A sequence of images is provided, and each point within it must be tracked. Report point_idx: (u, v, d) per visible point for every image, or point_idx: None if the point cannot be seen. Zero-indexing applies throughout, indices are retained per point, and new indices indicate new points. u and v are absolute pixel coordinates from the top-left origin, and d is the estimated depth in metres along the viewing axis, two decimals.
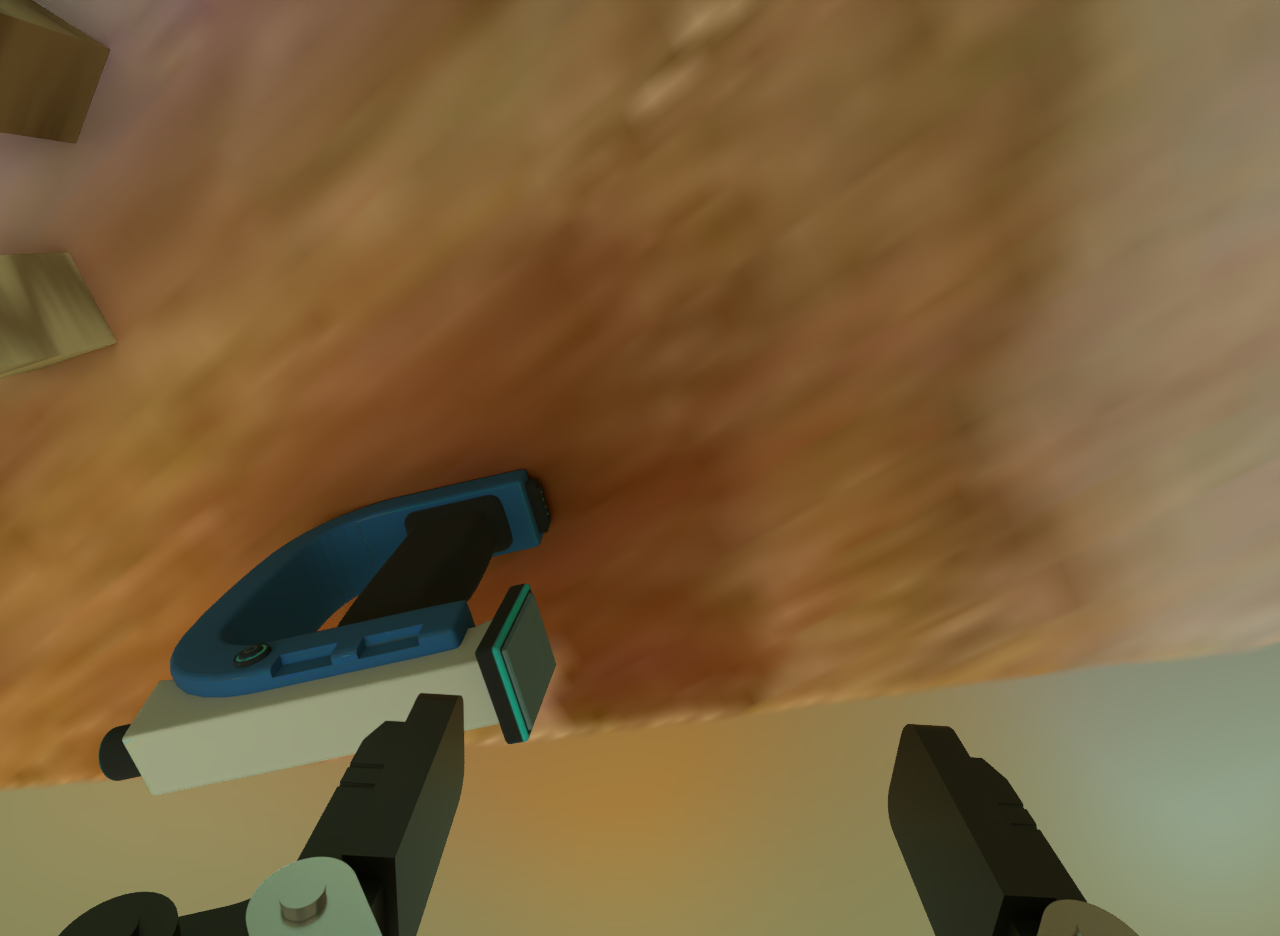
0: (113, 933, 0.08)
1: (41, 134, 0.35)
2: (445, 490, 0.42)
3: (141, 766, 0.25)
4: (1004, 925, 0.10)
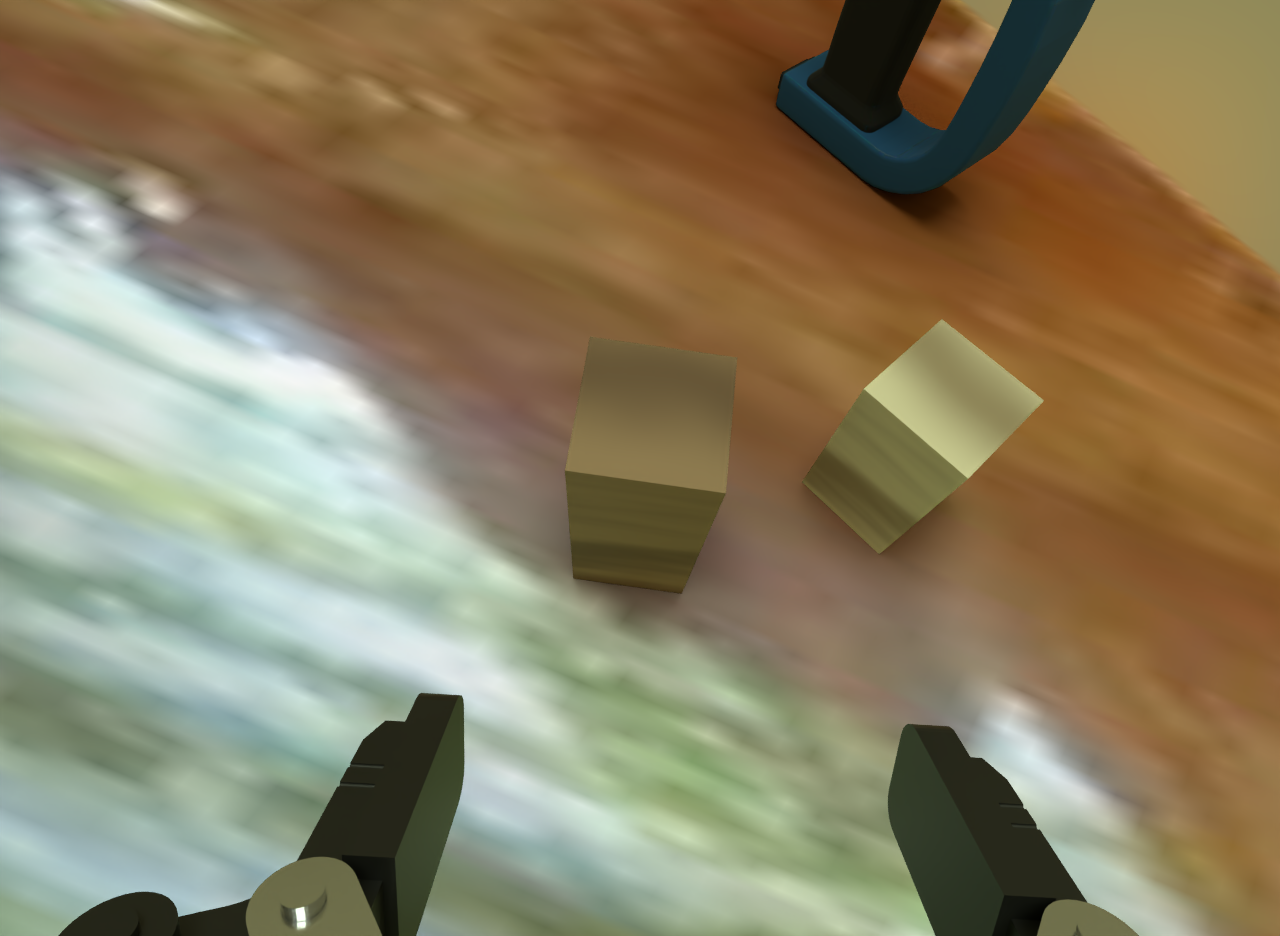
0: (114, 933, 0.08)
1: None
2: (828, 134, 0.45)
3: None
4: (1004, 925, 0.10)
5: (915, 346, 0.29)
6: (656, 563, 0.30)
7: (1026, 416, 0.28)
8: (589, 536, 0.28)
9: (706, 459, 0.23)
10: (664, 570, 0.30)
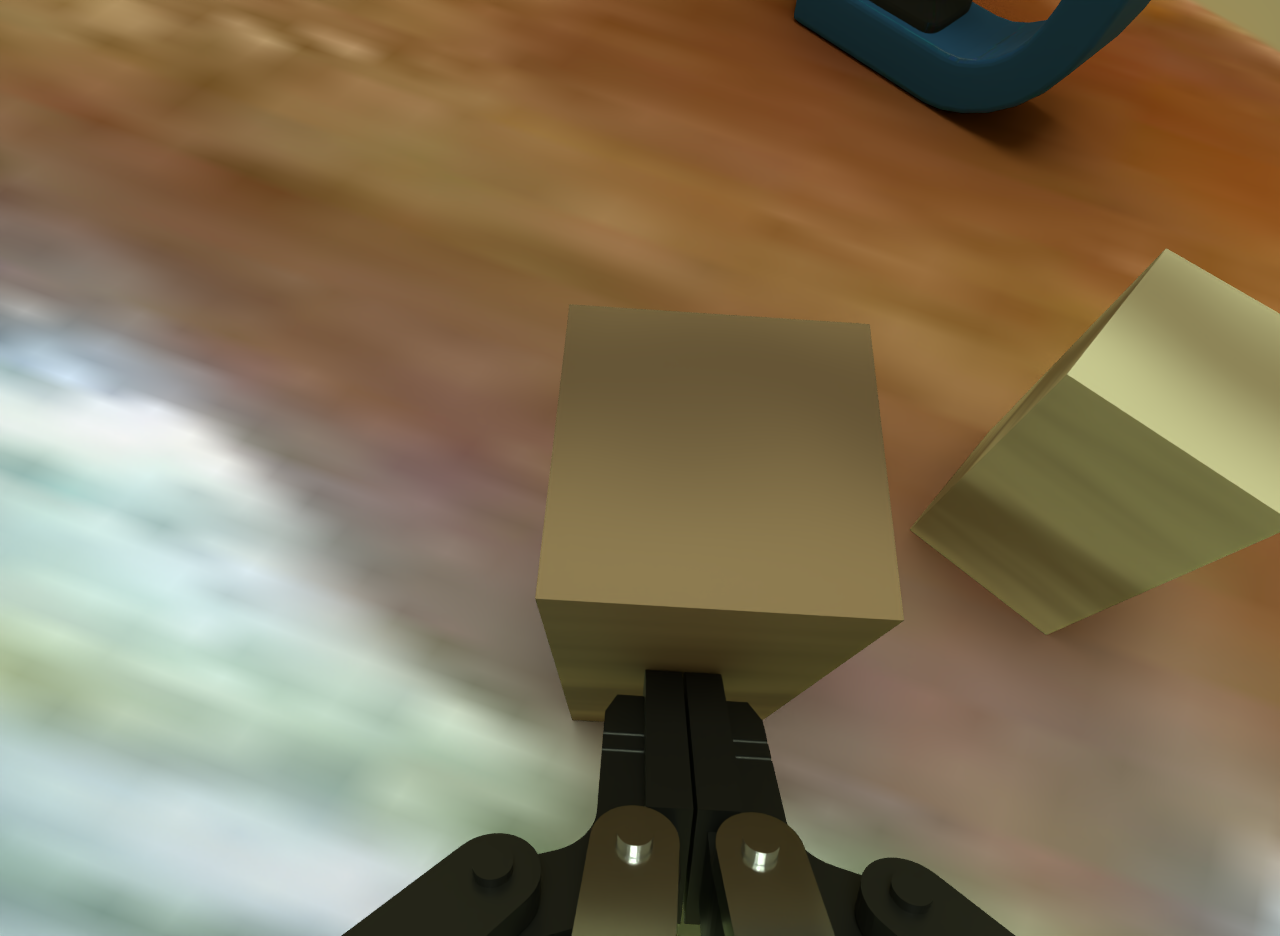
0: (494, 866, 0.09)
1: None
2: (872, 44, 0.33)
3: None
4: (702, 837, 0.11)
5: (1135, 295, 0.17)
6: None
7: None
8: (595, 681, 0.15)
9: (848, 544, 0.10)
10: None
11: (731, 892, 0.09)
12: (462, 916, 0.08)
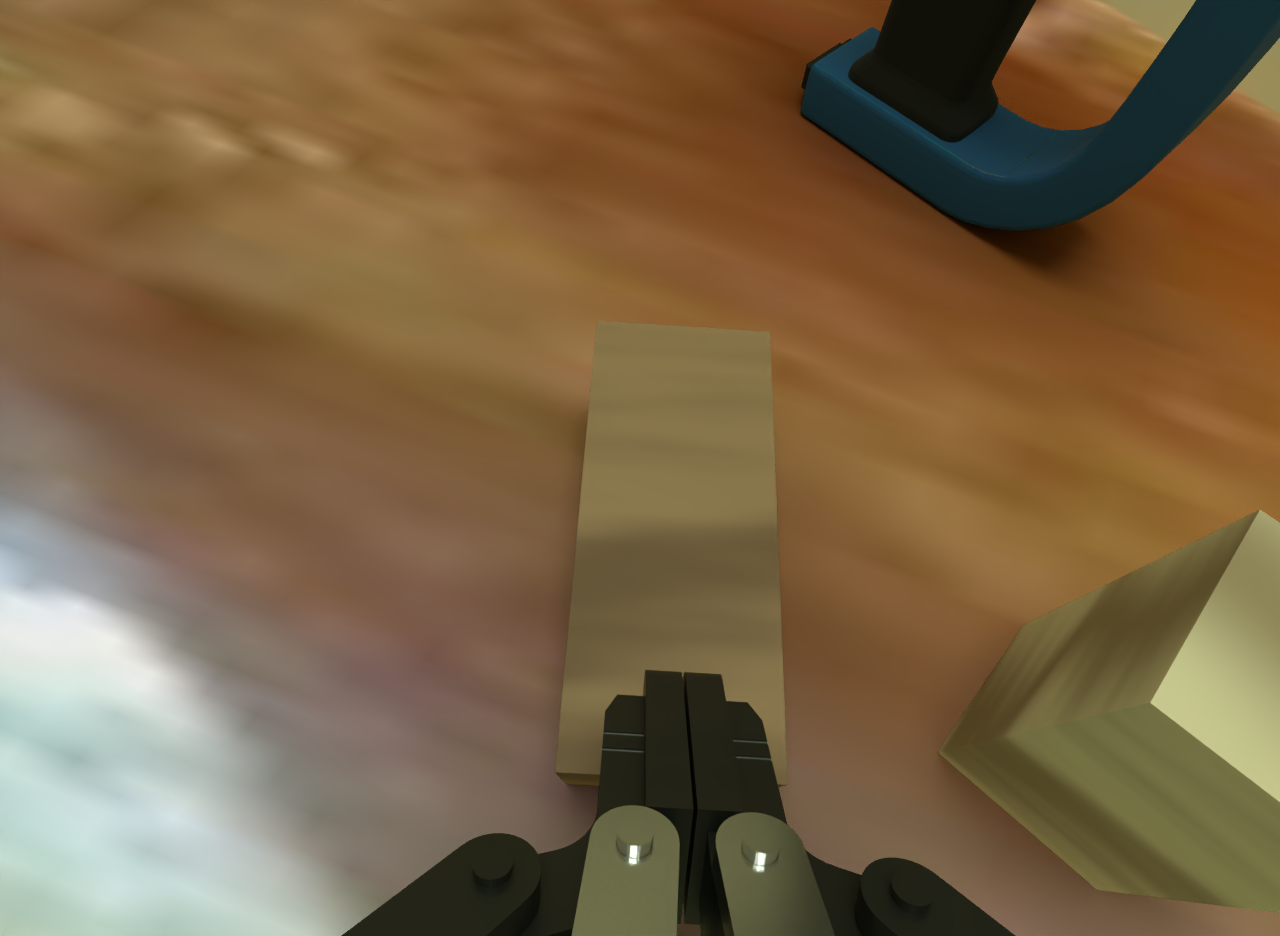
0: (494, 865, 0.09)
1: None
2: (887, 148, 0.30)
3: None
4: (702, 837, 0.11)
5: (1226, 580, 0.14)
6: (717, 602, 0.17)
7: None
8: (609, 508, 0.18)
9: None
10: (734, 632, 0.17)
11: (731, 892, 0.09)
12: (462, 916, 0.08)
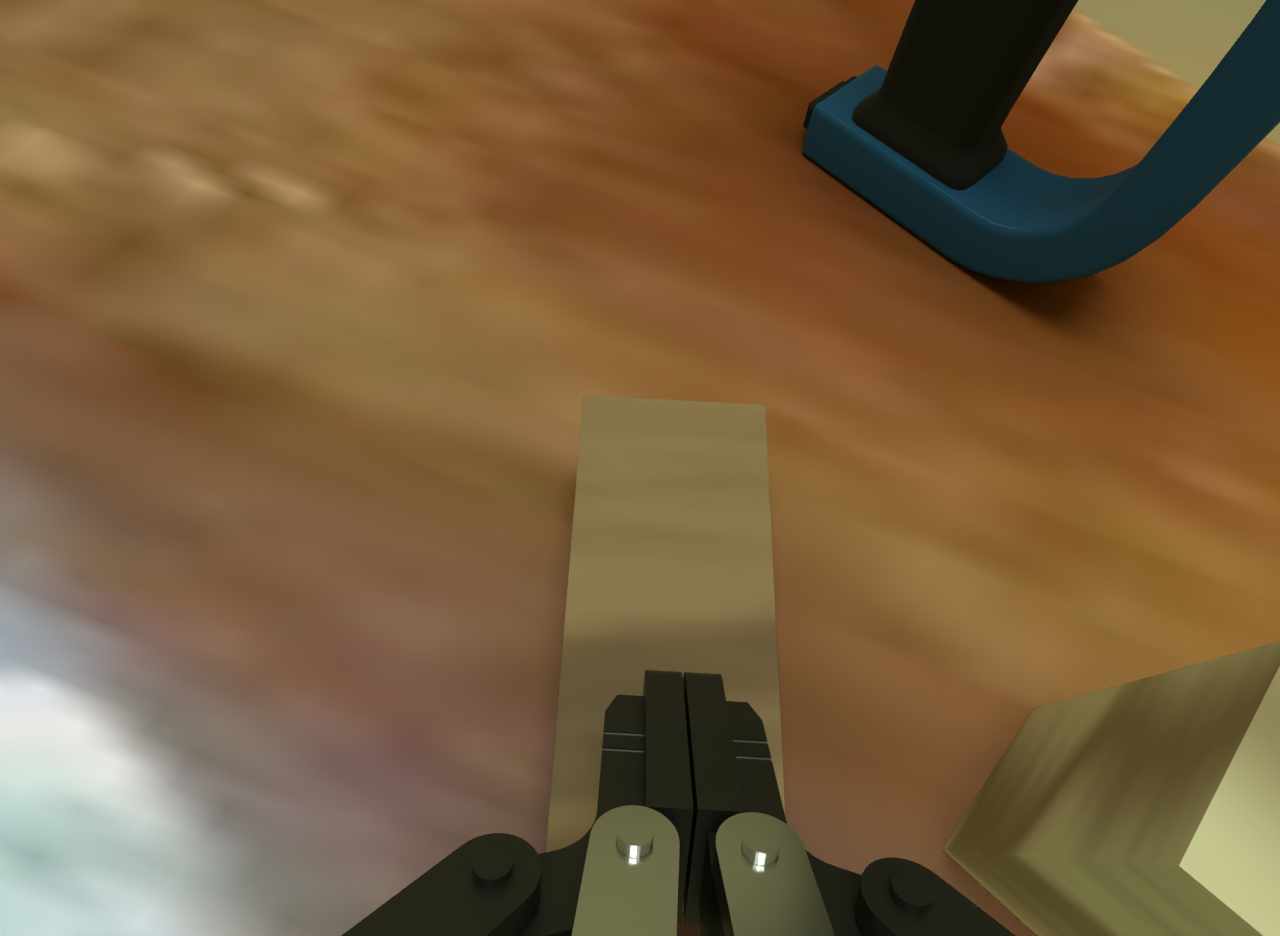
0: (494, 866, 0.09)
1: None
2: (891, 193, 0.29)
3: None
4: (702, 837, 0.11)
5: (1259, 720, 0.13)
6: None
7: None
8: (597, 605, 0.17)
9: None
10: None
11: (731, 892, 0.09)
12: (462, 915, 0.08)
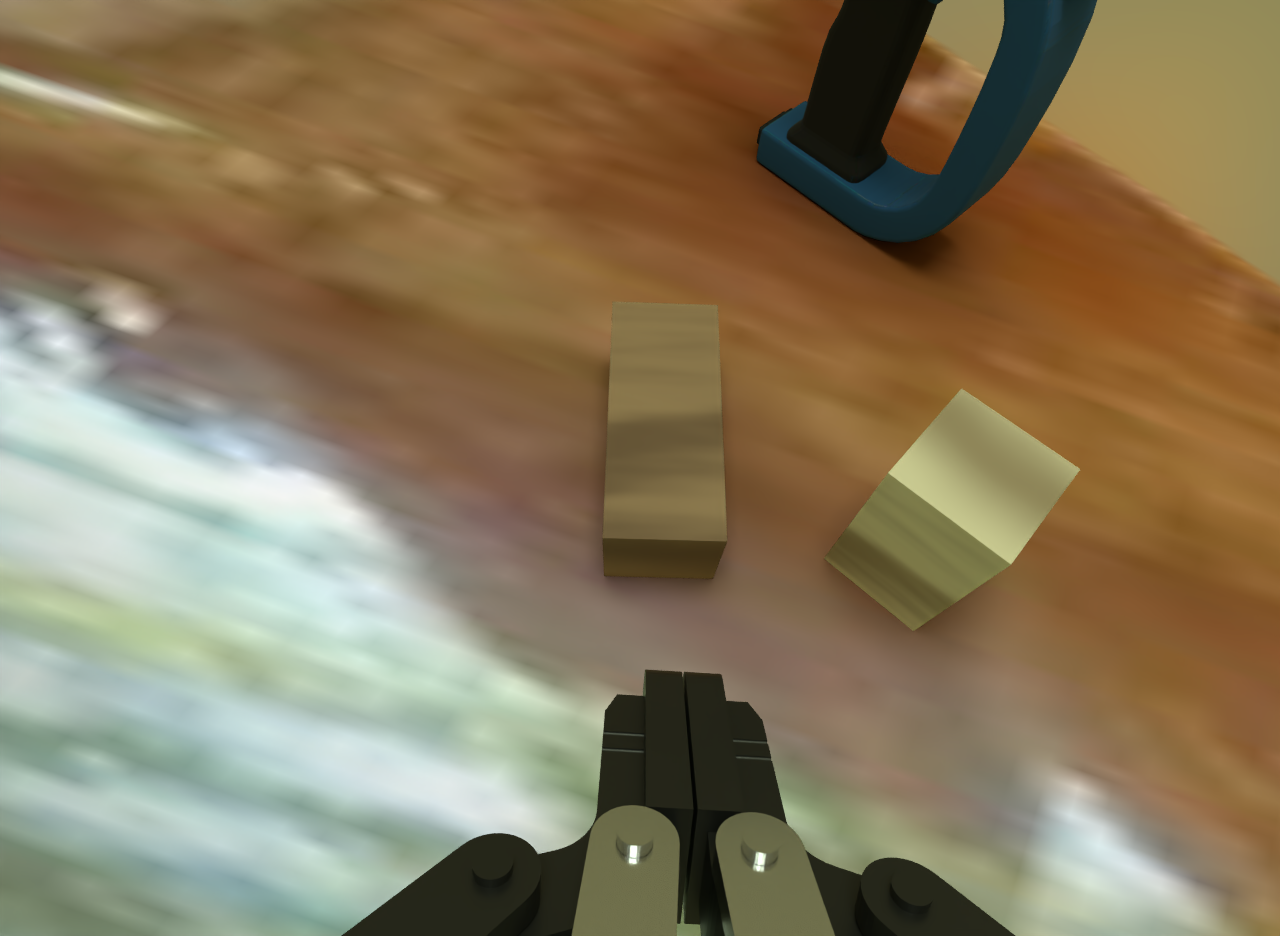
0: (493, 866, 0.09)
1: None
2: (813, 186, 0.43)
3: None
4: (702, 837, 0.11)
5: (937, 421, 0.27)
6: (688, 453, 0.31)
7: (1064, 488, 0.26)
8: (625, 406, 0.32)
9: None
10: (698, 468, 0.31)
11: (731, 892, 0.09)
12: (462, 916, 0.08)
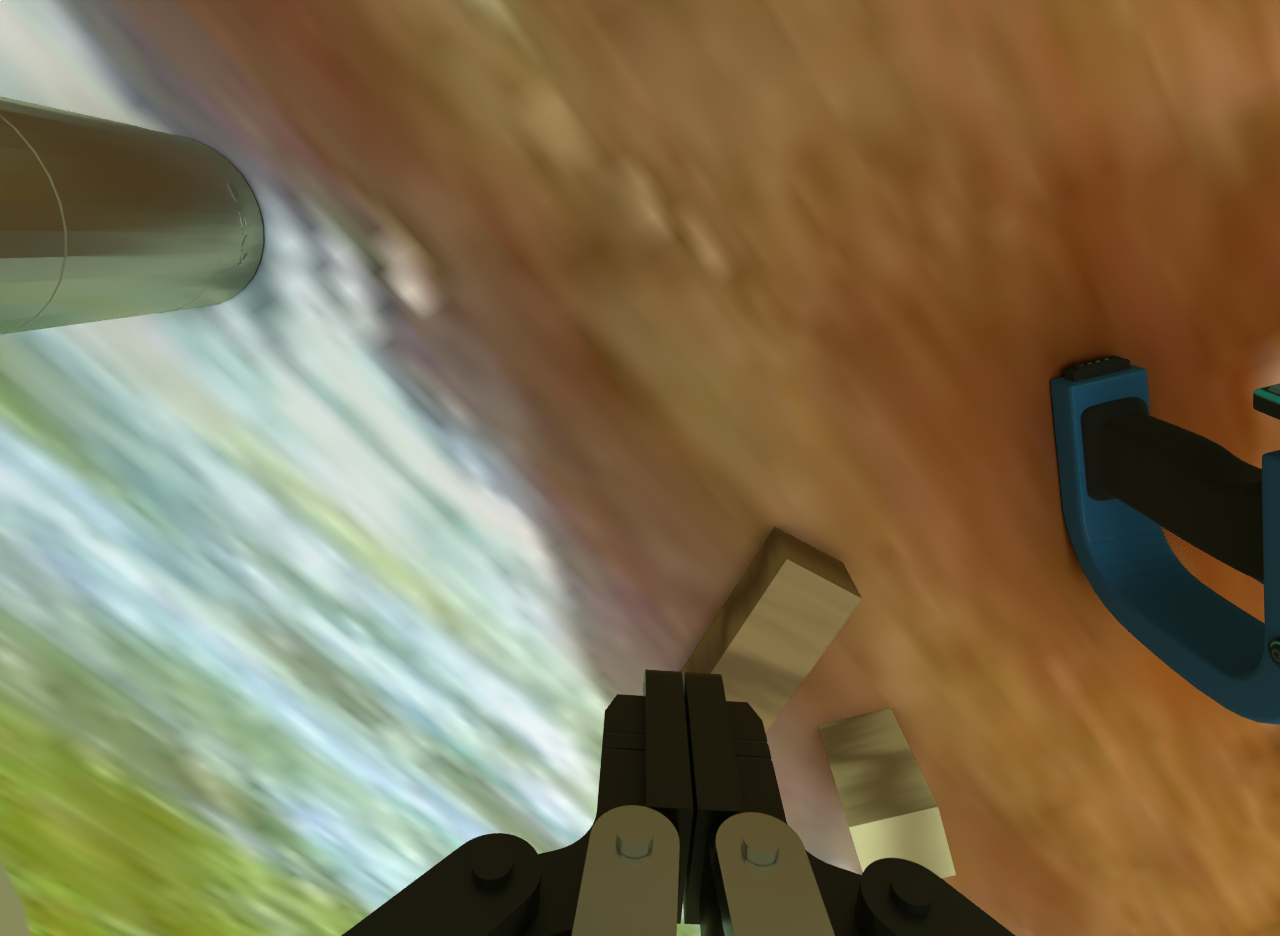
0: (494, 866, 0.09)
1: None
2: (1064, 459, 0.42)
3: None
4: (702, 838, 0.11)
5: (904, 815, 0.41)
6: (765, 693, 0.43)
7: None
8: (744, 644, 0.42)
9: (847, 585, 0.42)
10: (764, 704, 0.44)
11: (731, 892, 0.09)
12: (462, 916, 0.08)
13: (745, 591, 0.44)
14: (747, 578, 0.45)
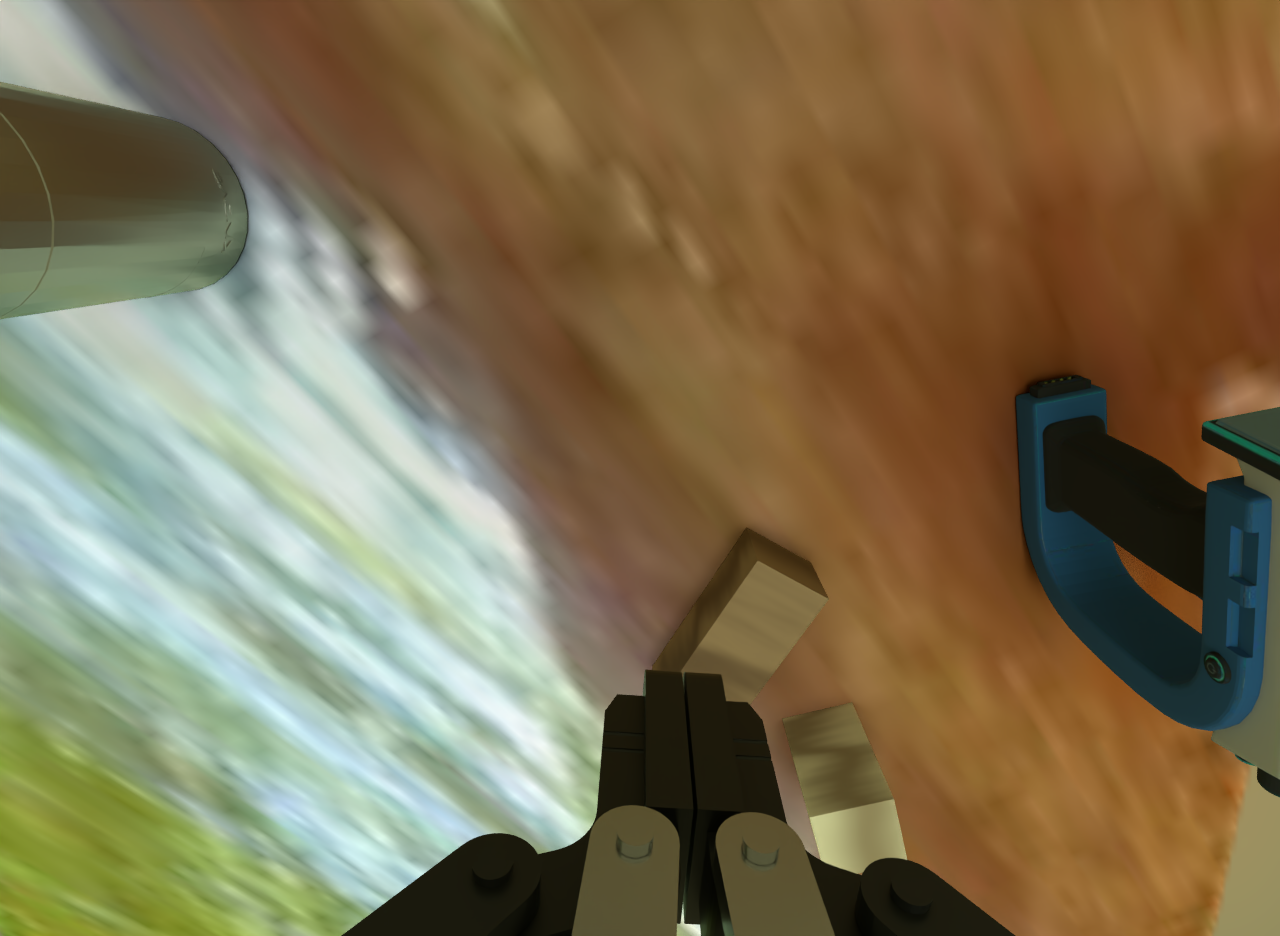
0: (494, 866, 0.09)
1: None
2: (1026, 471, 0.44)
3: None
4: (702, 837, 0.11)
5: (862, 807, 0.43)
6: (734, 688, 0.45)
7: None
8: (715, 641, 0.44)
9: (815, 585, 0.44)
10: (733, 699, 0.45)
11: (731, 892, 0.09)
12: (462, 915, 0.08)
13: (717, 590, 0.46)
14: (718, 577, 0.47)
